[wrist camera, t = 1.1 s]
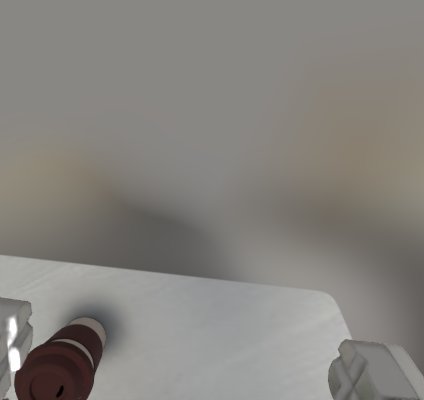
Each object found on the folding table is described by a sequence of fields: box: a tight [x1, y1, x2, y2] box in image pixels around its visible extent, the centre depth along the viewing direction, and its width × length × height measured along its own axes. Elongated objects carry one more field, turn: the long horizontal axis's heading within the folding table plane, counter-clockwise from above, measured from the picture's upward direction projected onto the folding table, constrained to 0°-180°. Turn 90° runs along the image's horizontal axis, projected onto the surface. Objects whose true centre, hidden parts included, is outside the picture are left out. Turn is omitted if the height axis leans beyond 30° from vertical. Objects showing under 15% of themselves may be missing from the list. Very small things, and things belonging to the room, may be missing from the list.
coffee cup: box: [14, 317, 106, 400], centre depth 49 cm, size 10×10×15 cm
